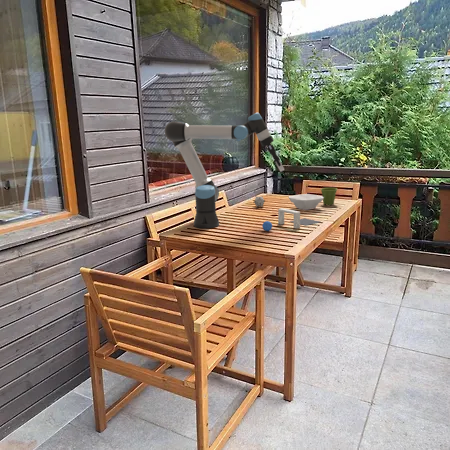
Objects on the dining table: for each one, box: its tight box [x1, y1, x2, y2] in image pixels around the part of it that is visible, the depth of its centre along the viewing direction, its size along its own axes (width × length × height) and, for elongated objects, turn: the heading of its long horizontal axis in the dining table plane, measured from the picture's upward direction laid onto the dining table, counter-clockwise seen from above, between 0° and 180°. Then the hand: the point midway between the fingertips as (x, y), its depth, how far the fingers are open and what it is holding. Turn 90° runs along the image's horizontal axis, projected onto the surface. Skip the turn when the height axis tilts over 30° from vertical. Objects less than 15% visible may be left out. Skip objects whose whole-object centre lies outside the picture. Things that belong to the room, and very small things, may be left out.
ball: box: [262, 220, 273, 232], centre depth 230 cm, size 6×6×6 cm
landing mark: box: [289, 217, 321, 226], centre depth 249 cm, size 13×13×1 cm
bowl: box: [288, 193, 324, 211], centre depth 285 cm, size 21×21×9 cm
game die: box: [253, 195, 266, 208], centre depth 296 cm, size 9×8×10 cm
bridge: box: [277, 207, 301, 229], centre depth 240 cm, size 3×14×9 cm, turn 37°
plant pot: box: [320, 187, 338, 206], centre depth 298 cm, size 12×12×11 cm
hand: (281, 169), depth 248 cm, fingers open, 13 cm apart
